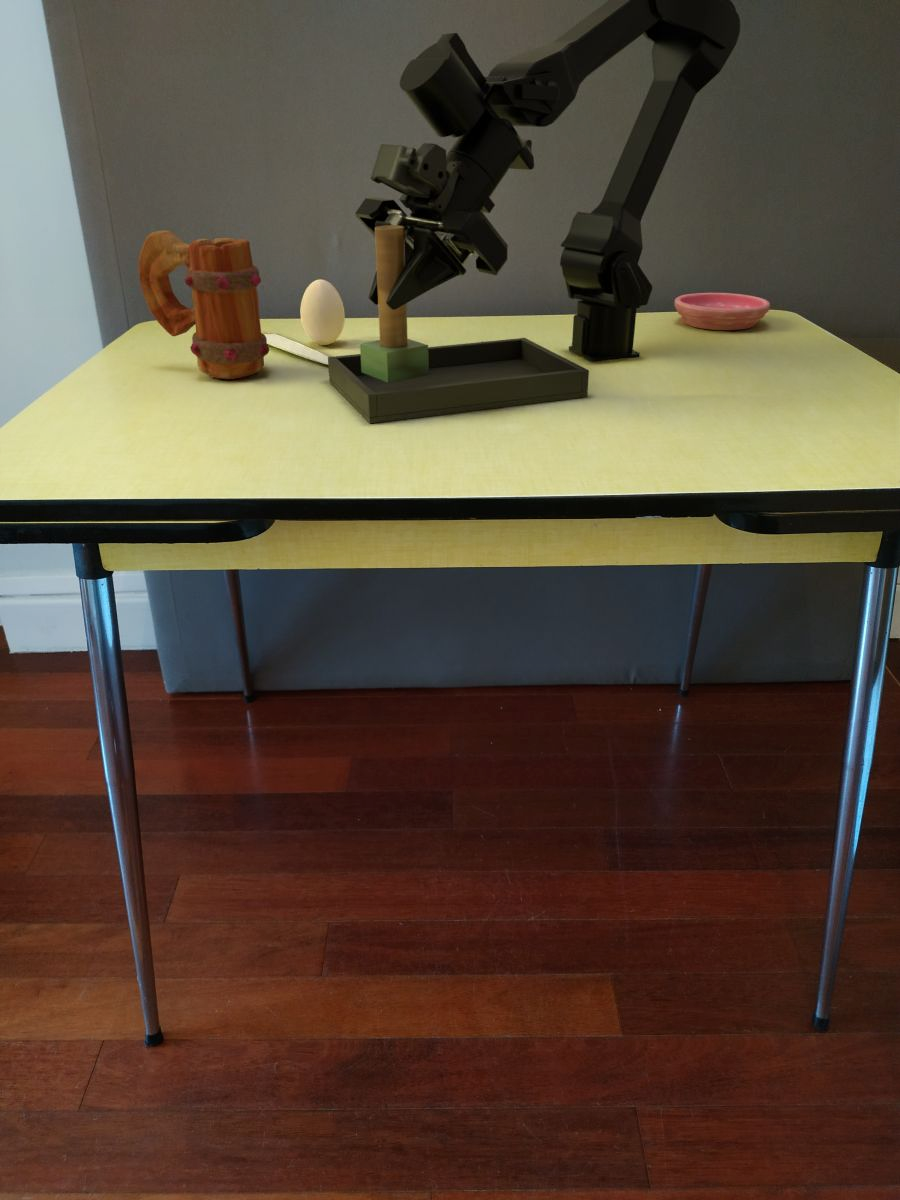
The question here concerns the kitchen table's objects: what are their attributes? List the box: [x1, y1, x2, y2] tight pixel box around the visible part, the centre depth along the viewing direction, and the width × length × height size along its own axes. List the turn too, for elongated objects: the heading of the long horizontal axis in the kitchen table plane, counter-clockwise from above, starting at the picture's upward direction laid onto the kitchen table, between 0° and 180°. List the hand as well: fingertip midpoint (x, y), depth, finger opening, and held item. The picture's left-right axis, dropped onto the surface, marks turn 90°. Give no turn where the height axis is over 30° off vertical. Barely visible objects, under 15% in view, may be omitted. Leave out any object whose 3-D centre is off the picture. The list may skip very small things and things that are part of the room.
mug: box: [137, 229, 270, 380], centre depth 100 cm, size 15×8×15 cm, turn 71°
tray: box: [327, 337, 590, 424], centre depth 97 cm, size 24×16×3 cm, turn 111°
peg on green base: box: [359, 225, 429, 383], centre depth 90 cm, size 5×5×14 cm
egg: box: [299, 279, 346, 346], centre depth 113 cm, size 6×6×8 cm
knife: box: [261, 330, 329, 366], centre depth 116 cm, size 1×34×5 cm
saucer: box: [674, 292, 771, 331], centre depth 124 cm, size 12×12×3 cm
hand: (380, 304), depth 89 cm, fingers closed on peg on green base, 3 cm apart
